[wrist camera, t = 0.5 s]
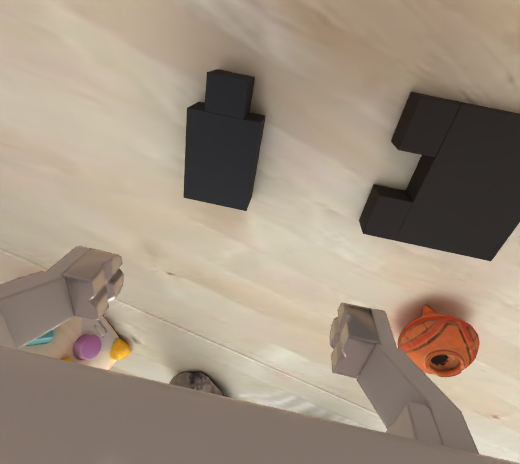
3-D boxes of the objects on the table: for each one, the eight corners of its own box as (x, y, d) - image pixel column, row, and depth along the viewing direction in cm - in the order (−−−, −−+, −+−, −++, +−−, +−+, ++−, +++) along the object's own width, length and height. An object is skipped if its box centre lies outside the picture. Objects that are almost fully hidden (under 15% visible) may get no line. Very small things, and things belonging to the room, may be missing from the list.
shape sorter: (148, 363, 48) (75, 508, 33) (95, 369, 51) (6, 504, 36) (72, 266, 39) (-75, 403, 24) (14, 280, 42) (-150, 410, 27)
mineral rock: (234, 420, 54) (220, 491, 45) (175, 408, 54) (150, 476, 46) (240, 377, 47) (225, 451, 38) (172, 364, 47) (143, 434, 39)
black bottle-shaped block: (193, 185, 31) (183, 197, 28) (200, 65, 25) (188, 68, 23) (251, 197, 31) (246, 211, 28) (271, 80, 25) (267, 84, 22)
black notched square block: (410, 91, 24) (420, 96, 22) (562, 122, 24) (587, 129, 22) (358, 220, 30) (362, 233, 28) (478, 246, 30) (491, 261, 28)
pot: (422, 357, 39) (431, 403, 33) (381, 313, 38) (382, 352, 32) (486, 331, 35) (509, 378, 29) (441, 282, 34) (455, 319, 28)
